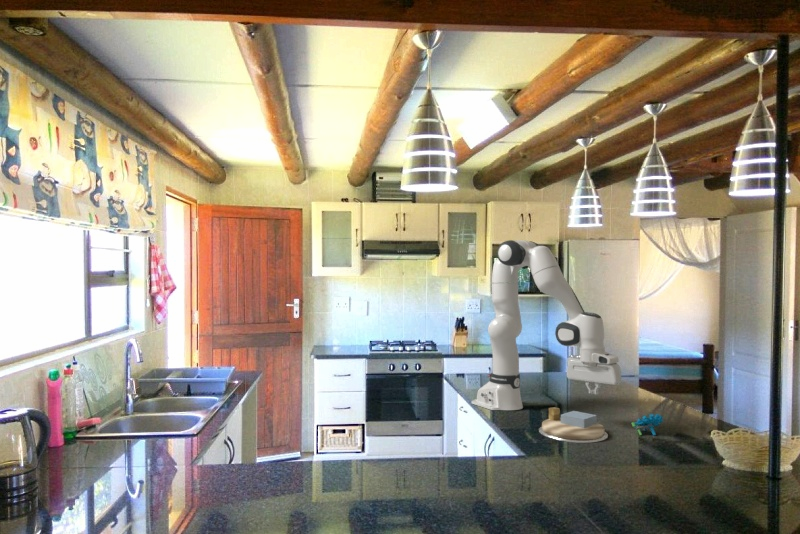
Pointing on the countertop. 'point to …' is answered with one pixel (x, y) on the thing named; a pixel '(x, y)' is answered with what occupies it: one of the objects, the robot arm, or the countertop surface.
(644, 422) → the blue toy animal
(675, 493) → the countertop surface
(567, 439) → the base
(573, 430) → the turntable
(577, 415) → the cover
